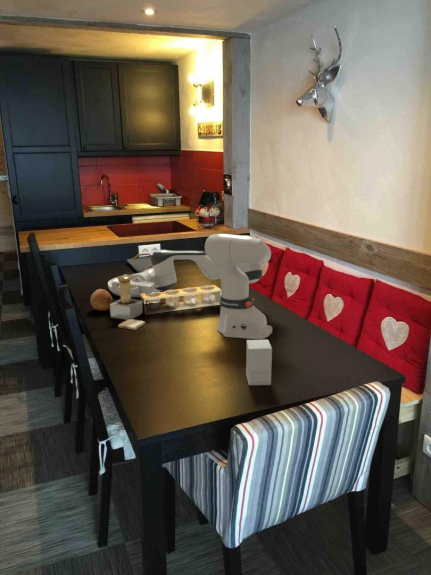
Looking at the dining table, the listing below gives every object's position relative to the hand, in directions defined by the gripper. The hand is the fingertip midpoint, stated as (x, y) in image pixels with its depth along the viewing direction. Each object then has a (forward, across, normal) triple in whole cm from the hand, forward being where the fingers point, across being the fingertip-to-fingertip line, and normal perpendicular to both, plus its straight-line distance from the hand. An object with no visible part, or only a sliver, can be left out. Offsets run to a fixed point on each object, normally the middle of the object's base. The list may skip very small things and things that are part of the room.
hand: (124, 290), depth 210 cm
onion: (-2, +14, -12) cm, 18 cm away
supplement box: (+35, -73, -12) cm, 82 cm away
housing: (-1, 0, -12) cm, 12 cm away
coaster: (+9, -9, -12) cm, 17 cm away
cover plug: (-1, 0, -11) cm, 11 cm away
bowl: (-36, +16, -12) cm, 41 cm away
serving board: (-81, +35, -12) cm, 89 cm away
